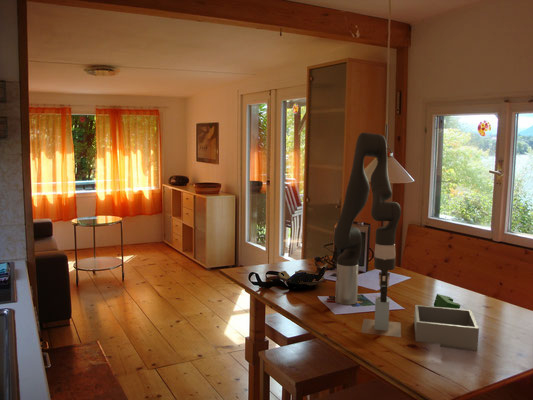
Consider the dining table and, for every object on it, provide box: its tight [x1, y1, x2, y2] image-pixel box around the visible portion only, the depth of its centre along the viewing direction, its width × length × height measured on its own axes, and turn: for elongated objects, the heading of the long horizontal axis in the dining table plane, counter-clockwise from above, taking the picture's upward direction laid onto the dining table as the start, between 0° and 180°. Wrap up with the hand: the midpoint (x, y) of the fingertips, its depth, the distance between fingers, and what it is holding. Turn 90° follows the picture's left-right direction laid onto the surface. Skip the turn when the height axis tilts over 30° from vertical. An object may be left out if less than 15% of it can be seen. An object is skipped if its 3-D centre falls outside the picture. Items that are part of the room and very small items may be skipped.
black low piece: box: [277, 263, 329, 287], centre depth 231 cm, size 22×30×8 cm
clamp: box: [433, 293, 462, 309], centre depth 195 cm, size 12×6×9 cm, turn 176°
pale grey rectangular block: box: [374, 296, 391, 331], centre depth 175 cm, size 5×5×11 cm
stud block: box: [361, 318, 402, 338], centre depth 175 cm, size 14×14×6 cm
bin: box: [413, 304, 480, 352], centre depth 169 cm, size 20×18×8 cm
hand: (383, 298), depth 174 cm, fingers open, 8 cm apart
